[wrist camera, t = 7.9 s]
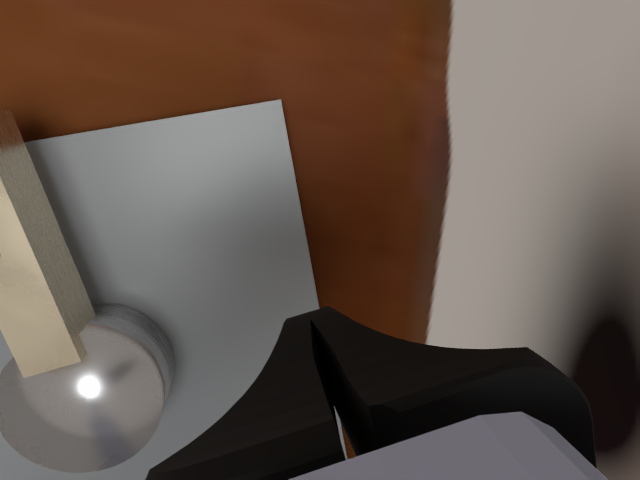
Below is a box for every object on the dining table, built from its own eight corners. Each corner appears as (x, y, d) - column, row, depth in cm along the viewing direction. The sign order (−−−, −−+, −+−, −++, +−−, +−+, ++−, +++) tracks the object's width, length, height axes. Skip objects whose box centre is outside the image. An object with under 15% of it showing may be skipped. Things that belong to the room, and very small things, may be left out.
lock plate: (346, 465, 24) (352, 486, 23) (-29, 569, 22) (-49, 599, 20) (278, 101, 19) (281, 98, 17) (-224, 186, 17) (-269, 190, 15)
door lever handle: (191, 401, 20) (180, 455, 17) (63, 440, 20) (24, 504, 16) (80, 100, 16) (36, 91, 13) (-83, 137, 16) (-174, 137, 12)
